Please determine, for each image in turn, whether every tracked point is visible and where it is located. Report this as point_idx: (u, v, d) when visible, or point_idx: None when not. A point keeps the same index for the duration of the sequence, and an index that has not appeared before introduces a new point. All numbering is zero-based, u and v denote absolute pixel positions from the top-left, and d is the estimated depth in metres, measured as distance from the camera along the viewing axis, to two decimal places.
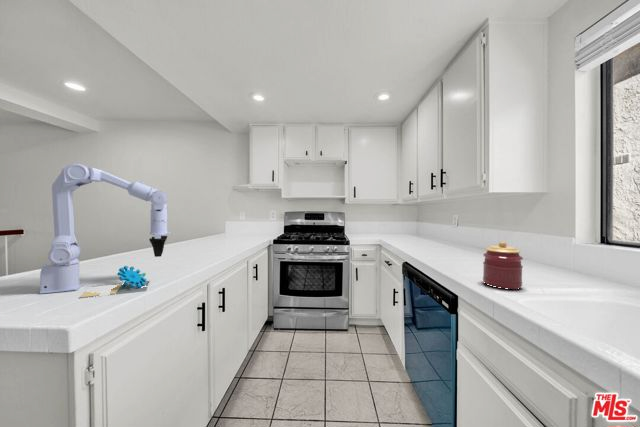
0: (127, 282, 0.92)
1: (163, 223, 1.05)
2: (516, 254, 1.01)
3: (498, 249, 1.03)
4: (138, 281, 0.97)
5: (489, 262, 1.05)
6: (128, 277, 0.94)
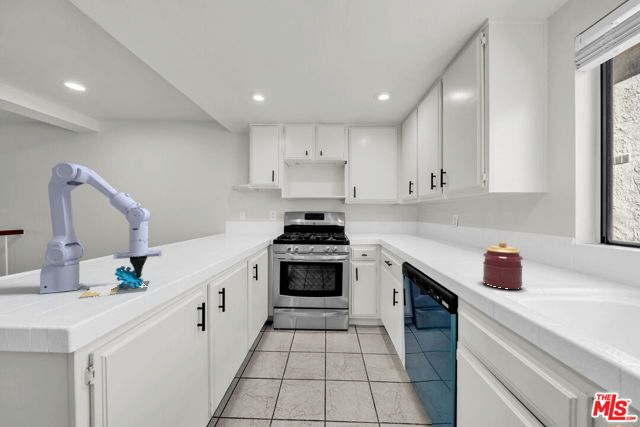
0: (125, 282, 0.92)
1: (130, 243, 0.95)
2: (516, 254, 1.01)
3: (498, 249, 1.03)
4: (135, 281, 0.96)
5: (489, 262, 1.05)
6: (125, 277, 0.94)
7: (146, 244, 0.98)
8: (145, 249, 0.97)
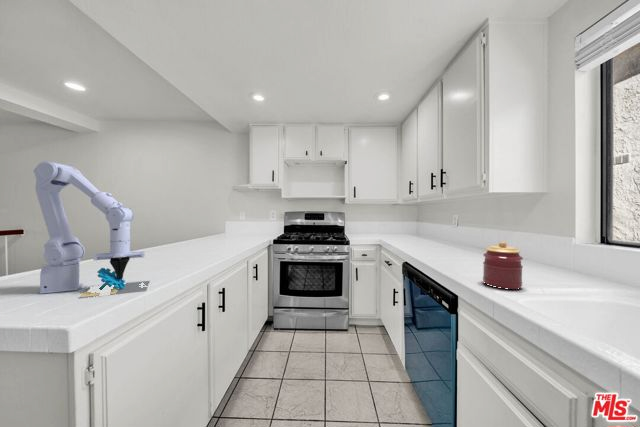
0: (111, 283, 0.90)
1: (111, 244, 0.92)
2: (516, 254, 1.01)
3: (498, 249, 1.03)
4: (119, 282, 0.94)
5: (489, 262, 1.05)
6: (109, 279, 0.92)
7: (128, 245, 0.95)
8: (126, 250, 0.95)
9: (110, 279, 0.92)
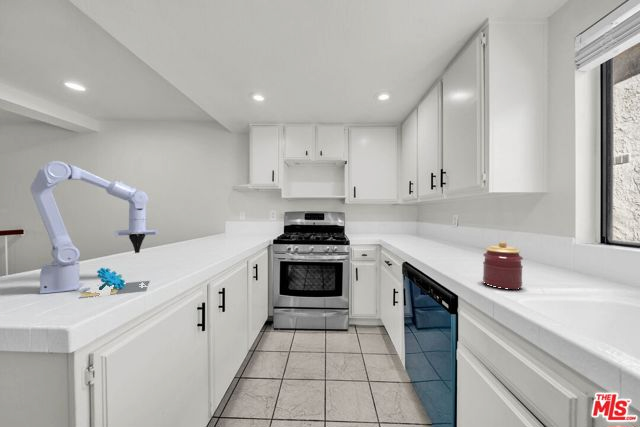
0: (110, 283, 0.90)
1: (130, 222, 1.07)
2: (516, 254, 1.01)
3: (498, 249, 1.03)
4: (119, 282, 0.94)
5: (489, 262, 1.05)
6: (109, 279, 0.92)
7: (144, 223, 1.10)
8: (143, 227, 1.09)
9: (110, 279, 0.92)
